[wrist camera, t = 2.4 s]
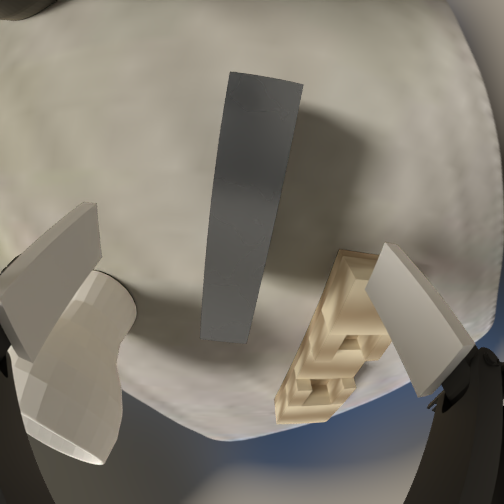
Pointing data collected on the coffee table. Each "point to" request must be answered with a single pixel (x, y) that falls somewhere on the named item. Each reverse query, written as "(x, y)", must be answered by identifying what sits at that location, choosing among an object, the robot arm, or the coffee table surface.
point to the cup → (78, 373)
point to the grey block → (245, 199)
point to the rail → (334, 344)
